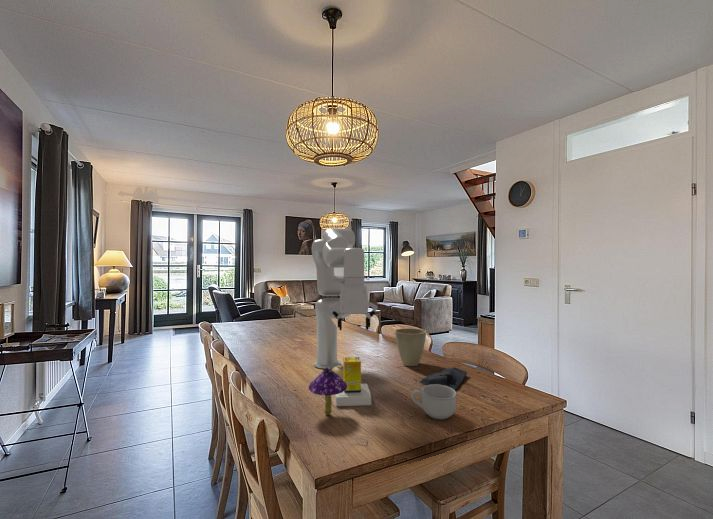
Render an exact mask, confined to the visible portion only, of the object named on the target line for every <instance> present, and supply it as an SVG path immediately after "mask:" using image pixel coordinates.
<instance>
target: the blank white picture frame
mask: <svg viewBox="0 0 713 519" xmlns="http://www.w3.org/2000/svg"><path fill="white" fill-rule="evenodd" d="M334 397H335V406H336V407H353V406H355V407H357V406H372V394H371V391H370V389H369V385H368V383H361V392H355V393H345V392H342V393H339V394H335V396H334Z"/></svg>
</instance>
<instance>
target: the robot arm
mask: <svg viewBox="0 0 713 519" xmlns="http://www.w3.org/2000/svg"><path fill="white" fill-rule="evenodd" d="M355 243H356V235H355V232H354V231H353V230H352V229H350V228H336V227H335V228H333V227H332V228H328V229H326V230H325V231H324V232H323V234H322V238H321V239H315V240H314V241H313V242H312V244H311V254H312V255H311V256H312V258H313V261H314V264H315V268H316V269H315V270H316V284H317V286H316V288H317V292H318V294H319V295H320V296H324V297H325V296H326V297H327V298H320V299H318V300H317V301H316V302H315V305H314V310H315V316H316V360H315V361H314V362H313V366H314V367H316V368H317V369H324V370H325V369H326V368H328V367H329V368H331V369H333V368H334V367H336V366H339V365H341V361H340V360H338V328H339V331H342V330H343V329H342V328H343V327H342V325H343V319H346V318H348V317H350V316H351V315H365V330H367V331H368V330H369V328H371V318H372V317H373V316H374V315H375V314H376V312H377V310H378V308H379V307H378V305H376V304H375V303H372V302H370V301H369V294H368V288H367V285H365V251H364V249H363V248H359V247H354V245H355ZM337 268H341V269H342V268H343V275H335V269H337ZM329 296H331V297H332V296H339V297H337V298H336V297H335V298H334V297H333V298H329ZM369 307H371V308H372V309H371V311H370V312H369ZM333 319H337V325H336V323H335V322H334V321H333Z"/></svg>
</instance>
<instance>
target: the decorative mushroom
mask: <svg viewBox="0 0 713 519" xmlns="http://www.w3.org/2000/svg"><path fill="white" fill-rule="evenodd" d="M332 369H333V368H329V367H328V368H326V369H324V370H323V371H322V372H320V373H319V374H318V375H317V376H316V377H315V379H313V380H312V381H311V382H310V384H309V386H308V390H309V392H311V393H313V394H314V395H317V396H318V395H319V396H324V398H325V403H324V404H325V406H324V414H325V415H327V416H328V415H329V416H330V415H331V413H332V402H333V401H332V396H334V395H335V394H339V393H342V392H344V391H345V390H346V389H347V384H346V382H345V381H344V380H342V379H341V377H340V376H339V375H338V374H336V373H335V372H334V371H333V370H332Z"/></svg>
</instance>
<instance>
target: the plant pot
mask: <svg viewBox="0 0 713 519" xmlns="http://www.w3.org/2000/svg"><path fill="white" fill-rule="evenodd" d="M394 334H395V340H396V345H397V349H398V352H399V356H400V359H401V362H402V364H403V365H404V366H407V367H417V366H419V364H420V361H421V359H422V356H423V352H424V349H425V343H426V335H427V331H426V330H425V329H423V328H421V329H420V328H414V327H413V328H411V327H410V328H409V327H408V328H407V327H405V328H398V329H395V330H394Z"/></svg>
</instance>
